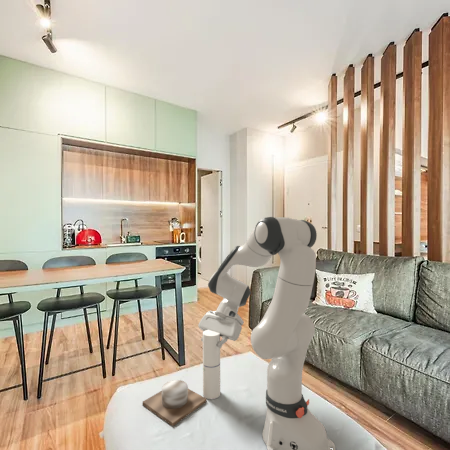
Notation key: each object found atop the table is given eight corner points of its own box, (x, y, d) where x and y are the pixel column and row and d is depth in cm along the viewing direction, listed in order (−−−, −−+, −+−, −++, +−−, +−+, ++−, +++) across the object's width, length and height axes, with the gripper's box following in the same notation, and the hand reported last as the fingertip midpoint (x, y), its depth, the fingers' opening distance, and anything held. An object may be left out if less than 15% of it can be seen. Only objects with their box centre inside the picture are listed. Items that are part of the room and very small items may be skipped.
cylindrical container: (212, 401, 106) (212, 337, 106) (199, 394, 110) (199, 333, 111) (223, 392, 112) (223, 331, 112) (210, 386, 116) (210, 328, 116)
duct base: (206, 401, 106) (206, 385, 106) (172, 426, 93) (172, 408, 93) (176, 384, 117) (176, 370, 117) (142, 404, 104) (142, 388, 104)
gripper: (204, 306, 123) (189, 334, 116) (240, 315, 110) (225, 347, 103) (211, 313, 127) (196, 341, 119) (247, 323, 114) (233, 354, 106)
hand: (210, 344), depth 111 cm, fingers closed on cylindrical container, 7 cm apart
